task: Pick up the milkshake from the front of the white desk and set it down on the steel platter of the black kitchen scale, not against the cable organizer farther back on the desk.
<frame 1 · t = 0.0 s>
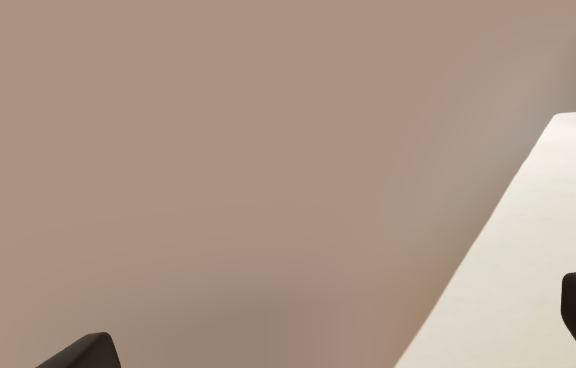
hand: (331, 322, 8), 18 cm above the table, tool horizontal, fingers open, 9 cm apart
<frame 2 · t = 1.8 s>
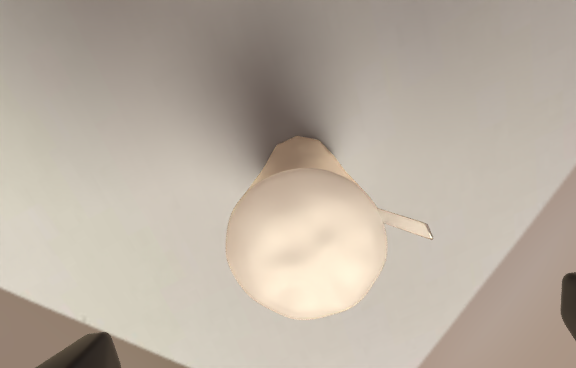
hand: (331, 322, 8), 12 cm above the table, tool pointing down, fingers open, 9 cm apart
milkshake: (308, 164, 20), on the table
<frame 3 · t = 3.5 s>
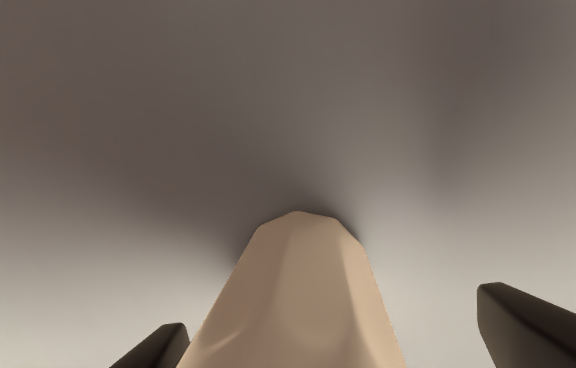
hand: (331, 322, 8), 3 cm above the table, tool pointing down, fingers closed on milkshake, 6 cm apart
milkshake: (318, 258, 11), on the table, touching gripper
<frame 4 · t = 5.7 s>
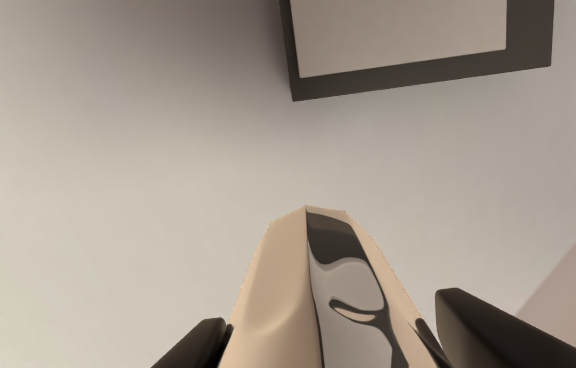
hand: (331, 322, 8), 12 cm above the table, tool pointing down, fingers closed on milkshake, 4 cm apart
milkshake: (328, 251, 11), point 9 cm above the table, touching gripper
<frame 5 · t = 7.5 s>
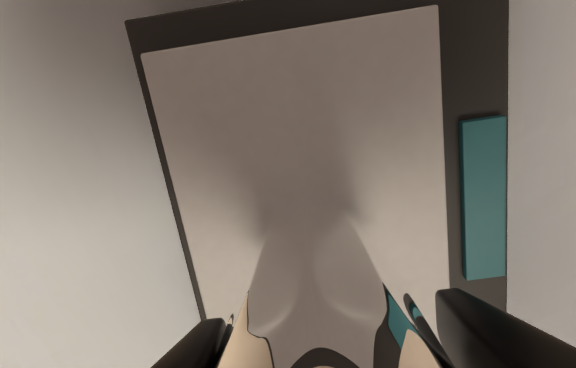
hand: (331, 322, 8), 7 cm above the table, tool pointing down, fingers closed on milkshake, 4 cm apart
scale: (333, 194, 15), on the table
milkshake: (328, 250, 11), point 4 cm above the table, touching gripper
when the fingers open (6 cm above the table, at t = 8.3 s): milkshake stays where it is, resting on scale.
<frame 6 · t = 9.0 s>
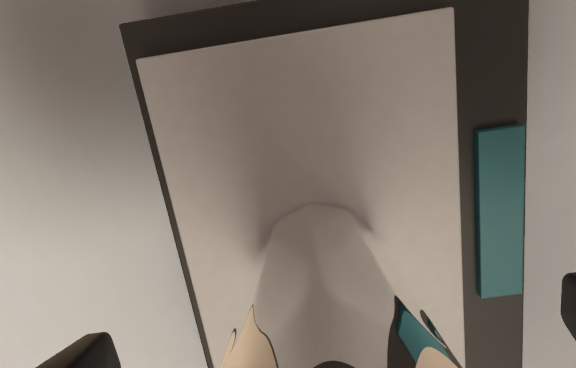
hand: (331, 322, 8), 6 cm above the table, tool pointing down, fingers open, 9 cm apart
scale: (339, 205, 14), on the table
milkshake: (331, 247, 12), point 3 cm above the table, touching scale
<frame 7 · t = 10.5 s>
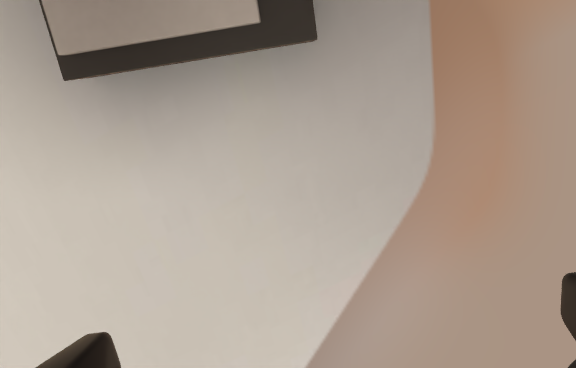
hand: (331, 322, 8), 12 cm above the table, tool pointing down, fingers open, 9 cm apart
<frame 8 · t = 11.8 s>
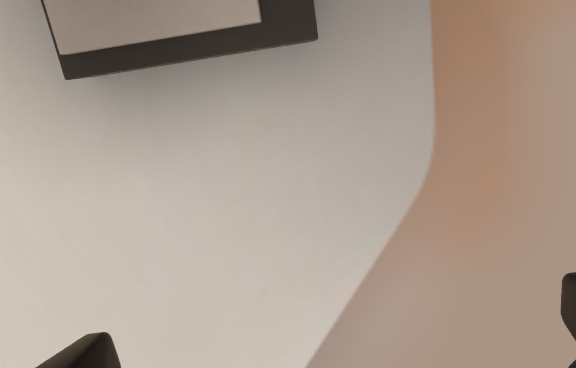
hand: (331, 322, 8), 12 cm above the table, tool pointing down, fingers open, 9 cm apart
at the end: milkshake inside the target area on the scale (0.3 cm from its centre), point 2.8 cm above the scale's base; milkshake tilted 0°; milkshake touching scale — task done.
